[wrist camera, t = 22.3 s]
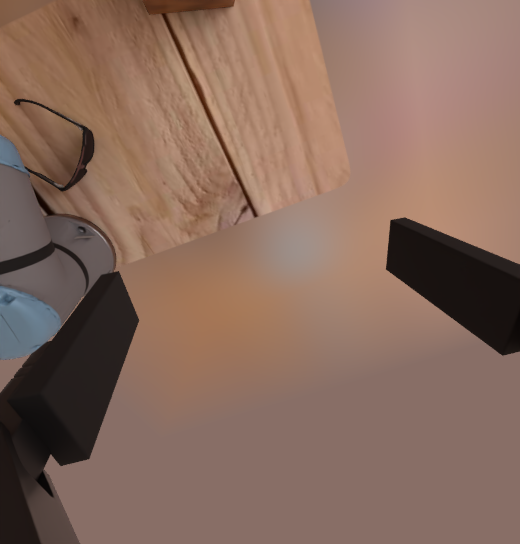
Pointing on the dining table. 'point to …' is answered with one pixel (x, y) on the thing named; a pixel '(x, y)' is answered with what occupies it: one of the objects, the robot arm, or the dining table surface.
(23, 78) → the dining table surface
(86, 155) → the sunglasses
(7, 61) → the dining table surface
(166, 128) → the dining table surface
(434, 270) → the robot arm
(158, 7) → the stand
